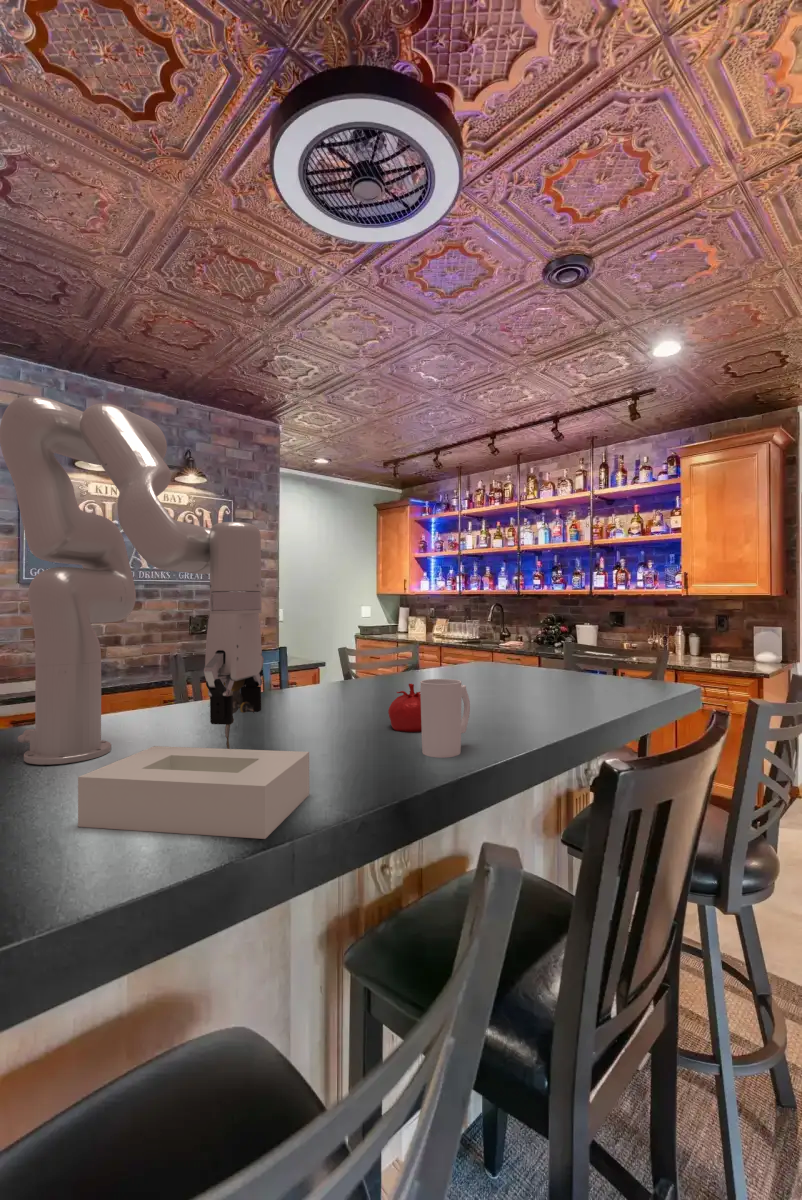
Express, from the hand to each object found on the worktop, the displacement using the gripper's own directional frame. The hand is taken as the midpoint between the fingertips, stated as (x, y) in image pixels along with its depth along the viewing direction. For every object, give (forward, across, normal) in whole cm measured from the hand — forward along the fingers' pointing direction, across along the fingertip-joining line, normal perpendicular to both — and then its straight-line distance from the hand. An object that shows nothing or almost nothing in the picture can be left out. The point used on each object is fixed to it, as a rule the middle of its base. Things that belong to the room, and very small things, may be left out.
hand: (237, 717), depth 84 cm
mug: (+8, -13, +31) cm, 35 cm away
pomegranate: (+8, -29, +23) cm, 38 cm away
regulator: (+8, 0, 0) cm, 8 cm away
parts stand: (+8, +17, +4) cm, 19 cm away
